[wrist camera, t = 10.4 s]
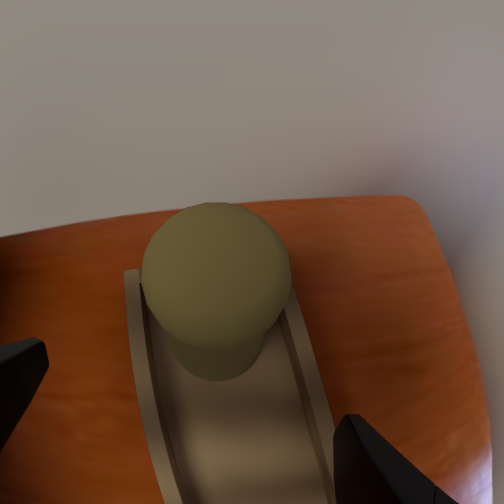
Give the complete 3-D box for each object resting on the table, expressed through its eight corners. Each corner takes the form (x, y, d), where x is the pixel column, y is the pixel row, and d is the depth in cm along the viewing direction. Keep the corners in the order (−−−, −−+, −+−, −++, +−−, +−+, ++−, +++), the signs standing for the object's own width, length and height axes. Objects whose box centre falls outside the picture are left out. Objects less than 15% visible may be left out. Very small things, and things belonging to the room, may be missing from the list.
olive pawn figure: (233, 278, 20) (251, 157, 11) (280, 352, 18) (352, 286, 8) (154, 316, 18) (97, 216, 9) (197, 398, 16) (168, 391, 6)
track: (341, 512, 13) (358, 524, 10) (194, 547, 11) (191, 566, 8) (273, 266, 22) (280, 246, 20) (134, 288, 20) (123, 271, 17)
